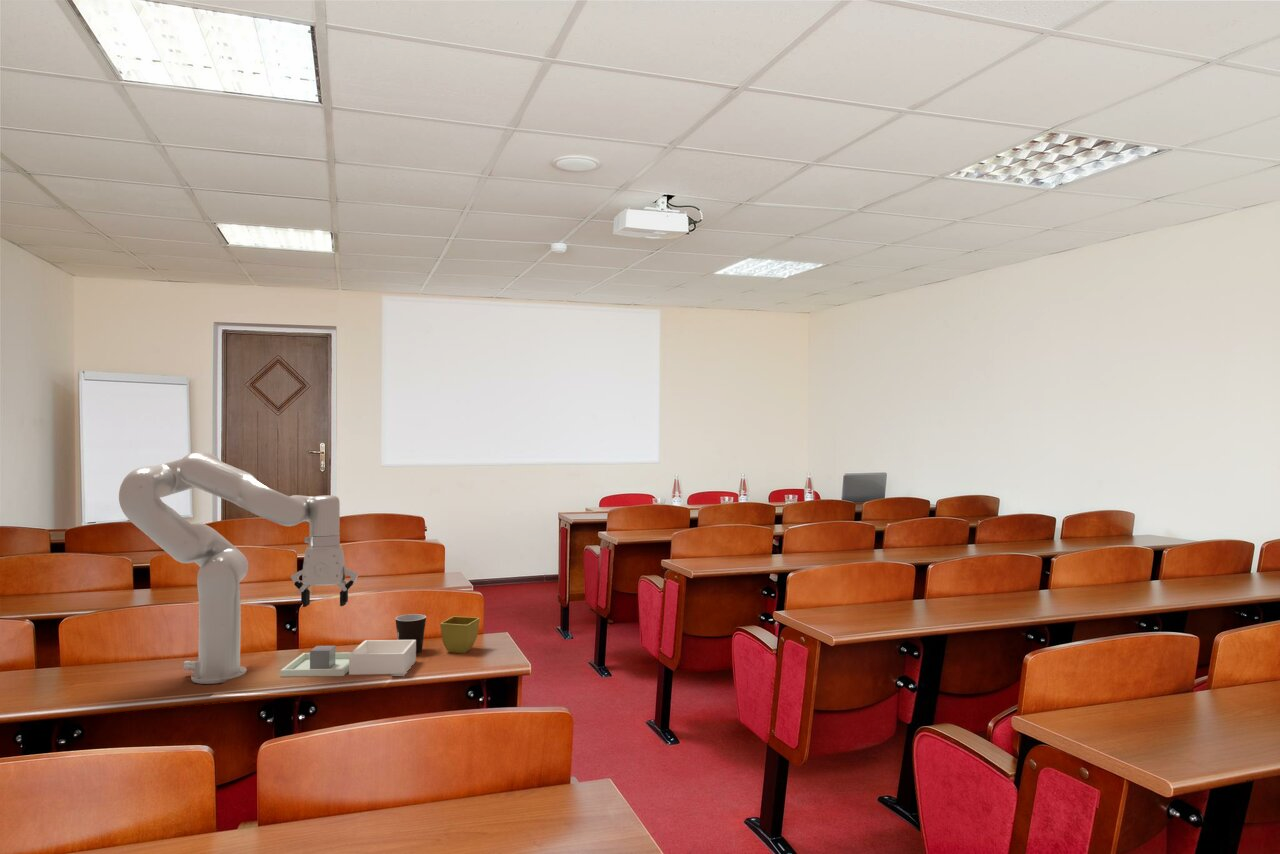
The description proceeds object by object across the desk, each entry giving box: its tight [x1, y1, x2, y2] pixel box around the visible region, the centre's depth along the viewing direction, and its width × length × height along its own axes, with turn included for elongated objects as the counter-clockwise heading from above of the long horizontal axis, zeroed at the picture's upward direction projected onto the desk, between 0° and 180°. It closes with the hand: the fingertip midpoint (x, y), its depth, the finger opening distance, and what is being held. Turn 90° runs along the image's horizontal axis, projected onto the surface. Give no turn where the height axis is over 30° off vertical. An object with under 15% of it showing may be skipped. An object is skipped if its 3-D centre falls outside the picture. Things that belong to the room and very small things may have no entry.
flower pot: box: [440, 615, 480, 654], centre depth 226 cm, size 9×9×9 cm
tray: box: [279, 651, 352, 678], centre depth 206 cm, size 16×16×2 cm
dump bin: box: [348, 639, 417, 677], centre depth 207 cm, size 14×14×6 cm
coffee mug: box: [395, 613, 427, 655], centre depth 226 cm, size 12×9×10 cm
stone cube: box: [309, 645, 337, 669], centre depth 206 cm, size 5×5×5 cm
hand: (324, 605), depth 207 cm, fingers open, 9 cm apart
